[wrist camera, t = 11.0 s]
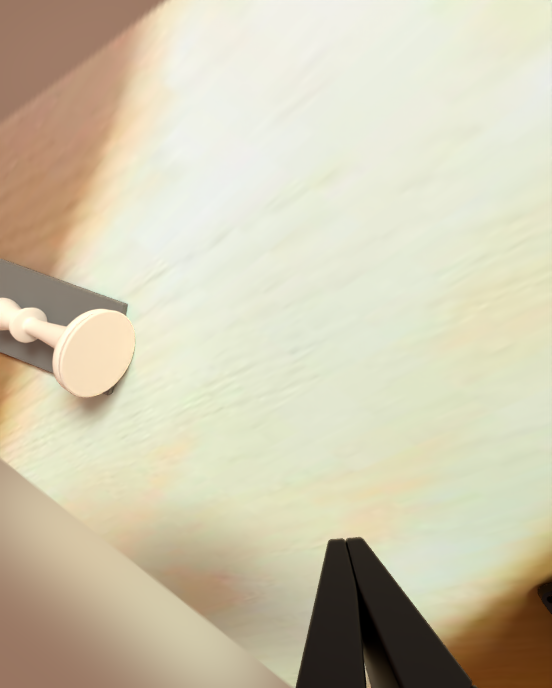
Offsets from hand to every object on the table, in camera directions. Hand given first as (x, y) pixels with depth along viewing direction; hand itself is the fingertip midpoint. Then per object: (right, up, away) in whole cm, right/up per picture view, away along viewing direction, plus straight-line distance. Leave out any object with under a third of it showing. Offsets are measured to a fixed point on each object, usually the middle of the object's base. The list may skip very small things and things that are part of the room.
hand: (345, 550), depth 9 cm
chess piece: (-11, +4, +10) cm, 16 cm away
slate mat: (-16, +6, +13) cm, 21 cm away
